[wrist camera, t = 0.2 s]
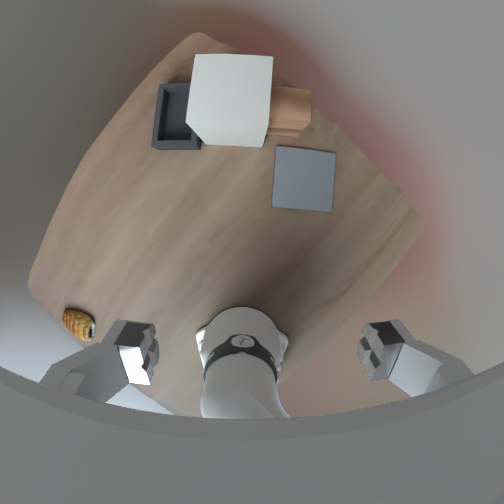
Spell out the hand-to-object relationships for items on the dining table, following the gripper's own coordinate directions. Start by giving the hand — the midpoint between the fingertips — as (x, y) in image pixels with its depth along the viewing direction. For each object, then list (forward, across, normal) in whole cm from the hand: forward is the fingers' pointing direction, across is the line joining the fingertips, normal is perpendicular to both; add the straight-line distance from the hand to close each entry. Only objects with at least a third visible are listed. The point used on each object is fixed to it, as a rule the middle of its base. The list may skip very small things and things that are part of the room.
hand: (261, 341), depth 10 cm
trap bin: (+42, -12, +14) cm, 46 cm away
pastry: (+38, -38, -29) cm, 61 cm away
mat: (+40, +10, +3) cm, 42 cm away
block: (+42, +4, +13) cm, 44 cm away
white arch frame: (+42, -2, +14) cm, 44 cm away
